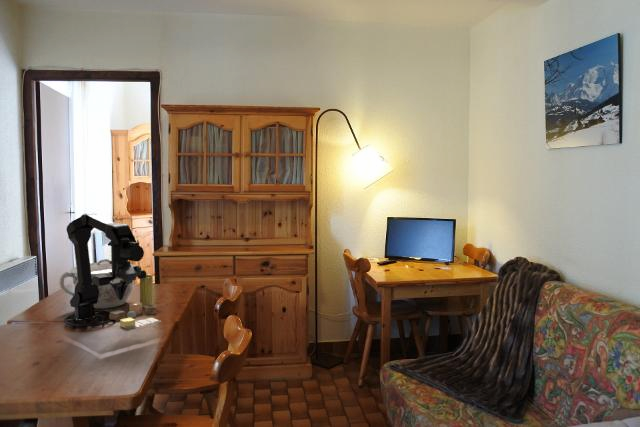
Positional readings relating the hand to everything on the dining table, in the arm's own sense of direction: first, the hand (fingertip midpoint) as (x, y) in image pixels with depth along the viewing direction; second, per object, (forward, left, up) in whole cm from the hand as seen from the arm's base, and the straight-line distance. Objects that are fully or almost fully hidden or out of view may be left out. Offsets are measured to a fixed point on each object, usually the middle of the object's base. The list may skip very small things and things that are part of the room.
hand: (120, 299), depth 185 cm
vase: (+23, +21, -12) cm, 33 cm away
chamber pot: (+13, +39, -12) cm, 43 cm away
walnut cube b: (+18, +10, -12) cm, 23 cm away
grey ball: (+10, +10, -12) cm, 18 cm away
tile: (+3, 0, -11) cm, 11 cm away
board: (+8, 0, -12) cm, 14 cm away
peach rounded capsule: (+14, +14, -12) cm, 23 cm away
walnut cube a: (+5, +12, -12) cm, 18 cm away
